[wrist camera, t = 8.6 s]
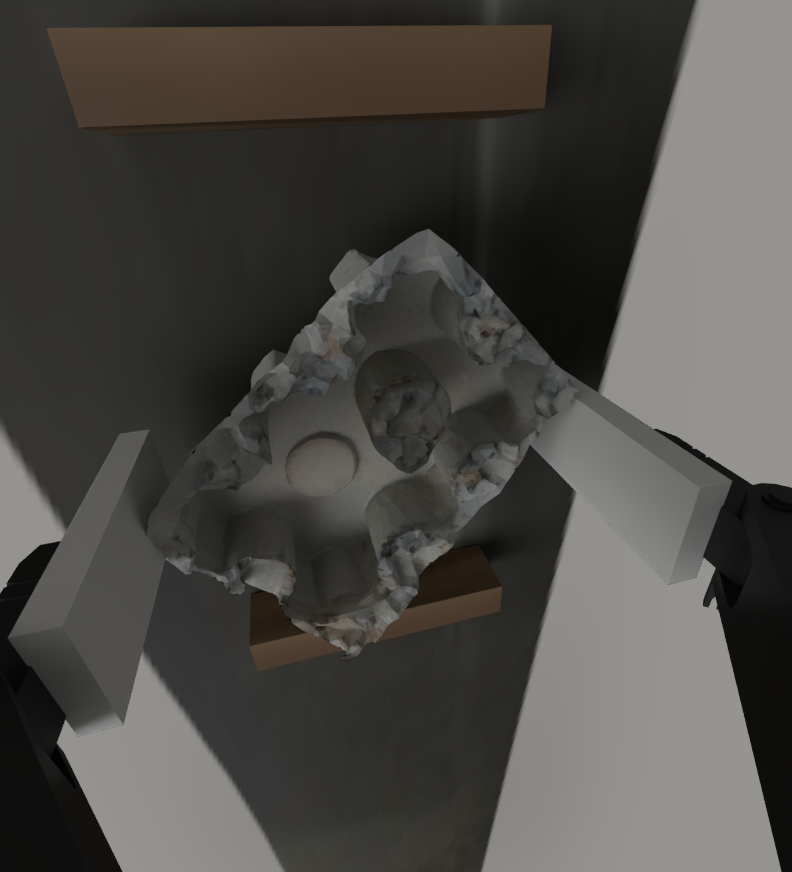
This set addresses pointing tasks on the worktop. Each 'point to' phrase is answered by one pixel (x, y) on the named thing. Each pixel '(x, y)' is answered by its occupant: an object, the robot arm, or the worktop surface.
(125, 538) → the robot arm
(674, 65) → the worktop surface
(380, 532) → the egg carton
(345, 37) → the parallel wooden rails
